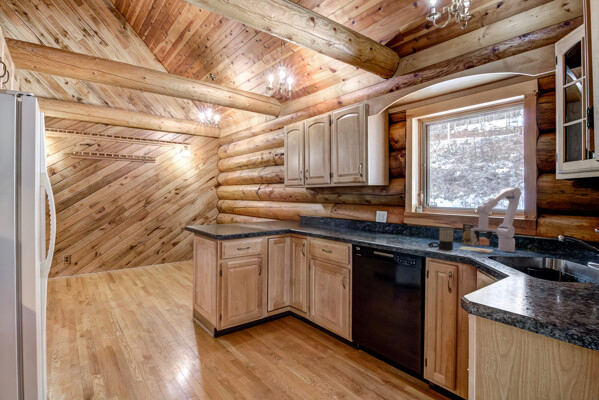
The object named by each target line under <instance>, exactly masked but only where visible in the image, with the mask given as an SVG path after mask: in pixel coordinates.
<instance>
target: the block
mask: <svg viewBox="0 0 599 400" xmlns="http://www.w3.org/2000/svg"><path fill="white" fill-rule="evenodd" d="M477 243H478V245H479V246H489V247H490V239H487V237H480V236H479V242H477Z"/></svg>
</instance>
